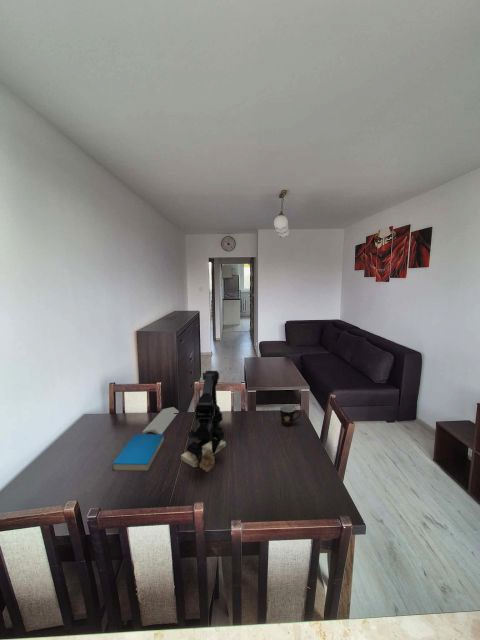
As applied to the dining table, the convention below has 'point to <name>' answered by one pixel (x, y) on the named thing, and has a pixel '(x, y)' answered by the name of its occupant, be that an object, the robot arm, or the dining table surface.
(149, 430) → the crown molding
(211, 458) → the block
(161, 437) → the book
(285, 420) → the coffee mug
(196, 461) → the plank
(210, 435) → the robot arm
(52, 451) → the dining table surface
